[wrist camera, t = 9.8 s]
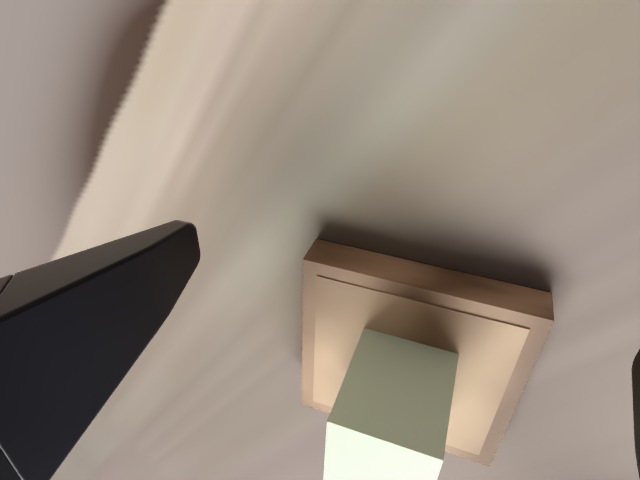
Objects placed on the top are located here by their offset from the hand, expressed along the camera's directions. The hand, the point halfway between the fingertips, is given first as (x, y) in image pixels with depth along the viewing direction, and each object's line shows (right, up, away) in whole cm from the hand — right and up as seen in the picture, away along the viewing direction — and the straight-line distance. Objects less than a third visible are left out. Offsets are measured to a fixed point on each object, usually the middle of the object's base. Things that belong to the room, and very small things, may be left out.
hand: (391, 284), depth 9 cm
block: (+3, -6, +16) cm, 18 cm away
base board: (+4, -5, +18) cm, 19 cm away
